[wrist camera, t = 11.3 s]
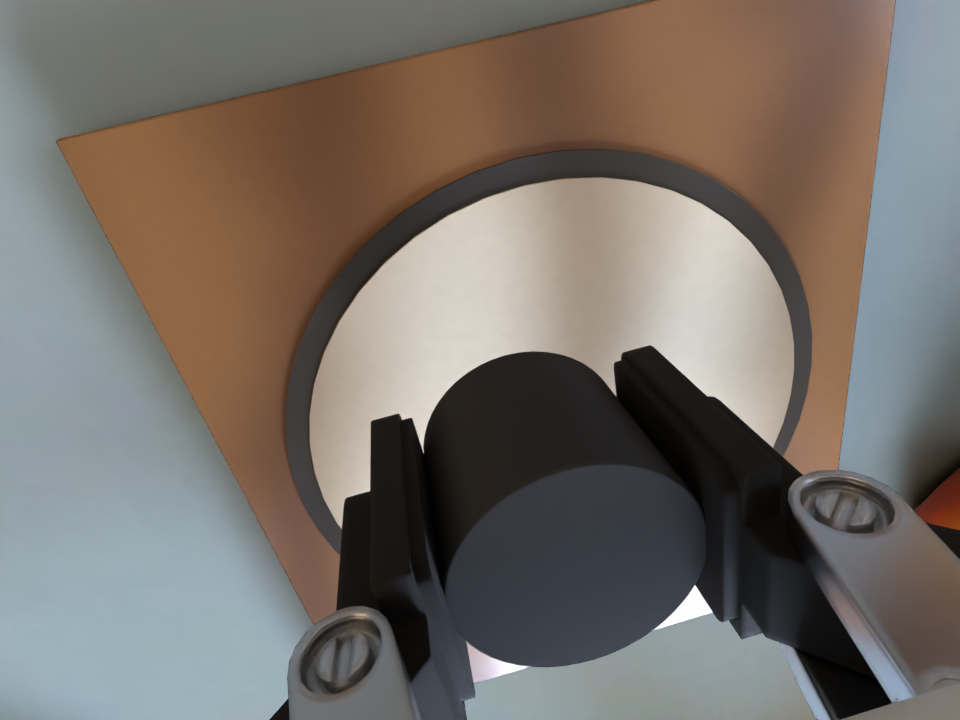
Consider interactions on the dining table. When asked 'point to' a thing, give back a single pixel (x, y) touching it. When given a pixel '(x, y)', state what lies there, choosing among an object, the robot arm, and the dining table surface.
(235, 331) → the board
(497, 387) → the dot
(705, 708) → the dining table surface
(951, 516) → the fruit
